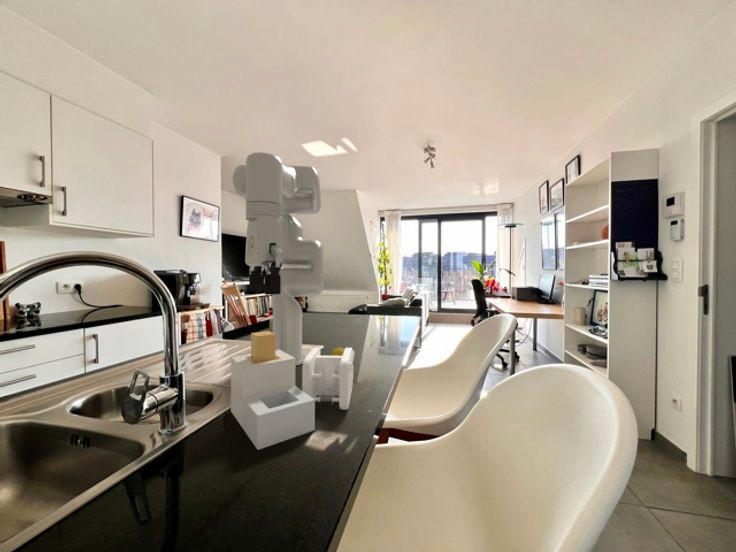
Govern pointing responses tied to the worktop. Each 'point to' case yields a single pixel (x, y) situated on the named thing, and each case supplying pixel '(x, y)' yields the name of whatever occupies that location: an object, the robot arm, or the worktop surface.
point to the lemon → (338, 352)
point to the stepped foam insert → (269, 400)
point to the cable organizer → (328, 376)
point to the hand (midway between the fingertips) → (264, 292)
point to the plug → (263, 346)
